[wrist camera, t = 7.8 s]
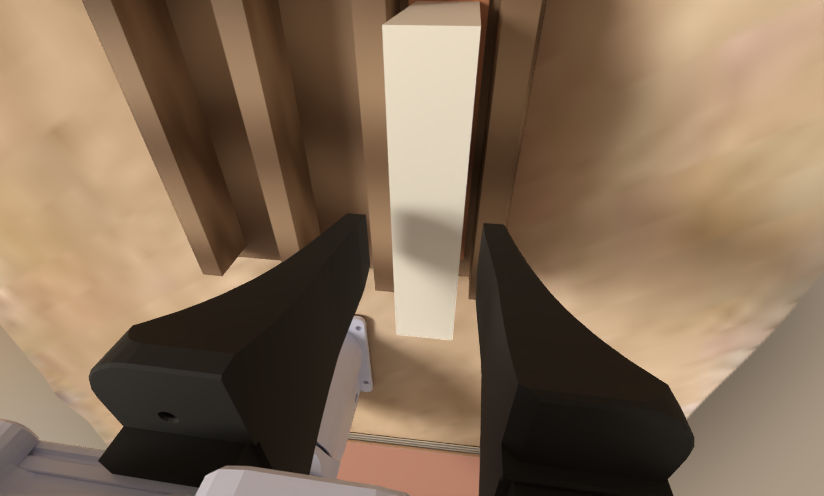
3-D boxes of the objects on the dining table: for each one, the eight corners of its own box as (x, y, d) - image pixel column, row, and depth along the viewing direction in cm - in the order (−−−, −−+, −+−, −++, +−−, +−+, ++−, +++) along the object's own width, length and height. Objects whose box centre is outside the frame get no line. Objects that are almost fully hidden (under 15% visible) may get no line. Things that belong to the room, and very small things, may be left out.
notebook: (319, 484, 52) (314, 501, 50) (289, 418, 41) (282, 437, 40) (526, 512, 48) (527, 531, 46) (549, 447, 38) (552, 469, 36)
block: (458, 245, 22) (452, 340, 17) (416, 242, 22) (396, 334, 17) (479, 1, 15) (481, 25, 9) (416, 1, 15) (382, 25, 10)
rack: (496, 268, 24) (499, 314, 21) (232, 246, 26) (199, 285, 23) (557, -85, 14) (580, -98, 11) (115, -78, 16) (27, -87, 13)
